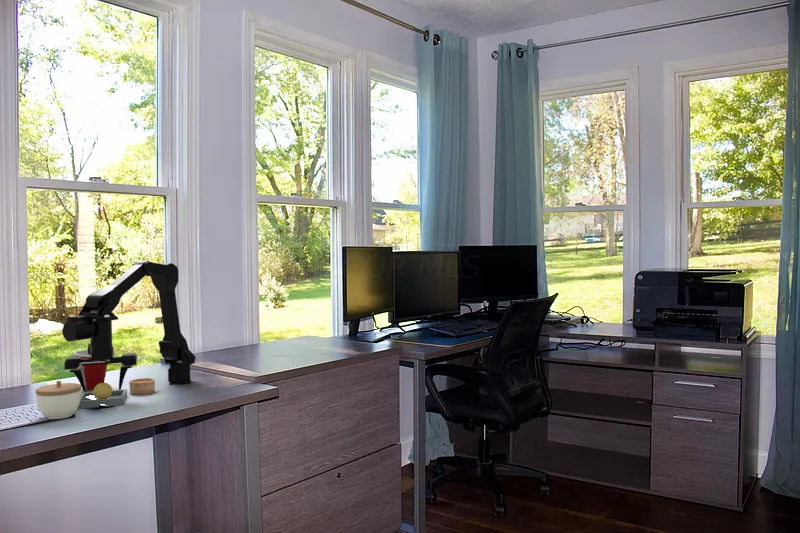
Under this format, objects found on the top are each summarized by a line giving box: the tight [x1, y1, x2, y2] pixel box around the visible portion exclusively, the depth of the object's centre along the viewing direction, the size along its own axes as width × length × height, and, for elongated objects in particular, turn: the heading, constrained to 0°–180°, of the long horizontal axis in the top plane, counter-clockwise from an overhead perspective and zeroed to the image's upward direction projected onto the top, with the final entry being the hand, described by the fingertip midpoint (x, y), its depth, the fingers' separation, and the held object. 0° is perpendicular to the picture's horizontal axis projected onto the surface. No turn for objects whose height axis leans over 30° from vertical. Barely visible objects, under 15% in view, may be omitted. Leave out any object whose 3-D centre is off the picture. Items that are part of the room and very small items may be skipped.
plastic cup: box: [73, 349, 108, 391], centre depth 204 cm, size 11×11×12 cm
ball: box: [92, 382, 113, 399], centre depth 185 cm, size 5×5×5 cm
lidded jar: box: [35, 380, 82, 420], centre depth 170 cm, size 11×11×9 cm
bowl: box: [128, 377, 156, 396], centre depth 198 cm, size 7×7×4 cm
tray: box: [77, 389, 128, 410], centre depth 185 cm, size 12×12×2 cm
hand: (102, 390), depth 185 cm, fingers open, 9 cm apart
